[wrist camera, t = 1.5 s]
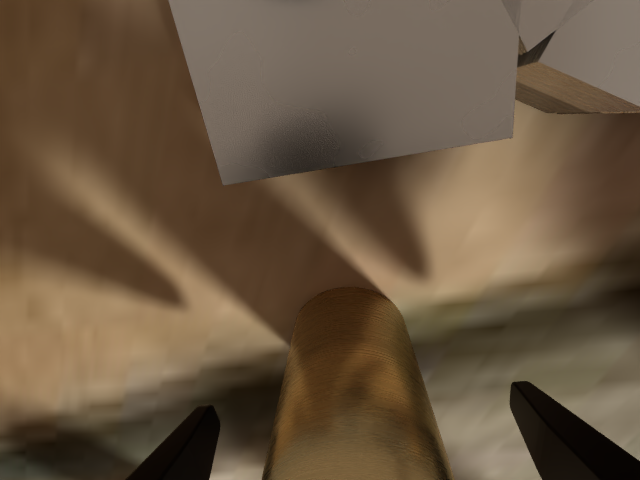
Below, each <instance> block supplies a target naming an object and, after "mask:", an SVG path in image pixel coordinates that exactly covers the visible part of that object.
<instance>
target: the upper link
mask: <svg viewBox="0 0 640 480" xmlns="http://www.w3.org/2000/svg"><path fill="white" fill-rule="evenodd" d="M168 1H169V4H170V8H171V11H172V14H173V18H174V21H175V24H176V28H177V31H178V35H179V38H180V41H181V45H182V48H183V52H184V55H185V58H186V62H187V65H188V69H189V72H190V75H191V79H192V82H193V86H194V89H195V92H196V96H197V99H198V103H199V106H200V109H201V113H202V116H203V120H204V123H205V126H206V130H207V133H208V136H209V140H210V143H211V147H212V150H213V153H214V157H215V160H216V164H217V167H218V170H219V174H220V177H221V181H222V184H223V186H224V185H230V184H236V183H242V182H248V181H254V180H260V179H266V178H272V177H278V176H284V175H290V174H296V173H302V172H308V171H314V170H320V169H326V168H332V167H338V166H344V165H351V164H357V163H363V162H369V161H375V160H381V159H387V158H393V157H399V156H405V155H411V154H417V153H423V152H429V151H435V150H441V149H447V148H453V147H459V146H465V145H471V144H477V143H483V142H489V141H495V140H502V139H508V138H512V137H513V122H514V106H515V91H516V81H518V82H520V83H522V84H525V85H527V86H529V87H532V88H534V89H536V90H538V91H541V92H543V93H545V94H548V95H550V96H552V97H555V98H557V99H559V100H561V101H564V102H566V103H568V104H571V105H573V106H575V107H578V108H580V109H582V110H585V111H587V112H600V113H640V0H168Z"/></svg>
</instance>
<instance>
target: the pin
mask: <svg viewBox="0 0 640 480" xmlns="http://www.w3.org/2000/svg"><path fill="white" fill-rule="evenodd" d="M262 480H455V479H454V476H453V473H452V469H451V466H450V463H449V460H448V457H447V454H446V451H445V447H444V444H443V441H442V438H441V435H440V432H439V429H438V425H437V422H436V419H435V416H434V413H433V410H432V407H431V403H430V400H429V397H428V394H427V391H426V388H425V384H424V381H423V378H422V375H421V372H420V369H419V366H418V362H417V359H416V356H415V353H414V350H413V347H412V344H411V340H410V337H409V334H408V331H407V328H406V325H405V322H404V319H403V316H402V315H401V313H400V311H399V310H398V308H397V307H396V306H395V305H394V304H393V303H392V302H391V301H390V300H388V299H387V298H386V297H384V296H382V295H380V294H378V293H376V292H374V291H371V290H367V289H363V288H357V287H343V288H336V289H332V290H329V291H326V292H323V293H321V294H319V295H317V296H316V297H314V298H313V299H311V300H310V301H309V302H308V303H307V304H306V305H305V306H304V307H303V308H302V310H301V311H300V313H299V315H298V317H297V319H296V322H295V327H294V331H293V336H292V341H291V345H290V350H289V355H288V359H287V364H286V369H285V373H284V378H283V383H282V387H281V392H280V396H279V401H278V406H277V410H276V415H275V420H274V424H273V429H272V434H271V438H270V443H269V448H268V452H267V457H266V462H265V466H264V471H263V476H262Z"/></svg>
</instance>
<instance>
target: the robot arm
mask: <svg viewBox="0 0 640 480" xmlns="http://www.w3.org/2000/svg"><path fill="white" fill-rule="evenodd" d="M510 408H511V411H512V413H513V416H514V418H515V420H516V423H517V425H518V427H519V429H520V432H521V434H522V436H523V439H524V441H525V443H526V445H527V448H528V450H529V452H530V455H531V457H532V459H533V461H534V464H535V466H536V468H537V470H538V472H539V474H540V476H541V478H542V480H640V461H639V460H637V459H636V458H635V457H633V456H632V455H630V454H629V453H628V452H626V451H625V450H623V449H622V448H621V447H619V446H618V445H616V444H615V443H614V442H612V441H611V440H610V439H608V438H607V437H605V436H604V435H603V434H601V433H600V432H598V431H597V430H596V429H594V428H593V427H591V426H590V425H589V424H587V423H586V422H584V421H583V420H582V419H580V418H579V417H577V416H576V415H575V414H573V413H572V412H571V411H569V410H568V409H566V408H565V407H564V406H562V405H561V404H559V403H558V402H557V401H555V400H554V399H552V398H551V397H550V396H548V395H547V394H545V393H544V392H543V391H541V390H540V389H538V388H537V387H536V386H534V385H533V384H531V383H530V382H527V381H520V382H513V383H512V384H511V391H510ZM219 432H220V421H219V418H218V416H217V414H216V411H215V409H214V407H213V405H211V404H207V405H200V406H198V407H197V408H196V409H195V410H194V411H193V412H192V413H191V414H190V415H189V416H188V417H187V418H186V419H185V420H184V421H183V422H182V423H181V424H180V425H179V426H178V427H177V428H176V429H175V430H174V431H173V432H172V433H171V434H170V435H169V436H168V437H167V438H166V439H165V440H164V441H163V442H162V443H161V444H160V445H159V446H158V447H157V448H156V449H155V450H154V451H153V452H152V453H151V454H150V455H149V456H148V457H147V458H146V459H145V460H144V461H143V462H142V463H141V464H140V465H139V466H138V467H137V469H136V470H135V471H134V472H133V473H132V474H131V475H130V476H129V477H128V478H127V479H126V480H209V478H210V474H211V469H212V464H213V460H214V455H215V451H216V446H217V441H218V437H219Z"/></svg>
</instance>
